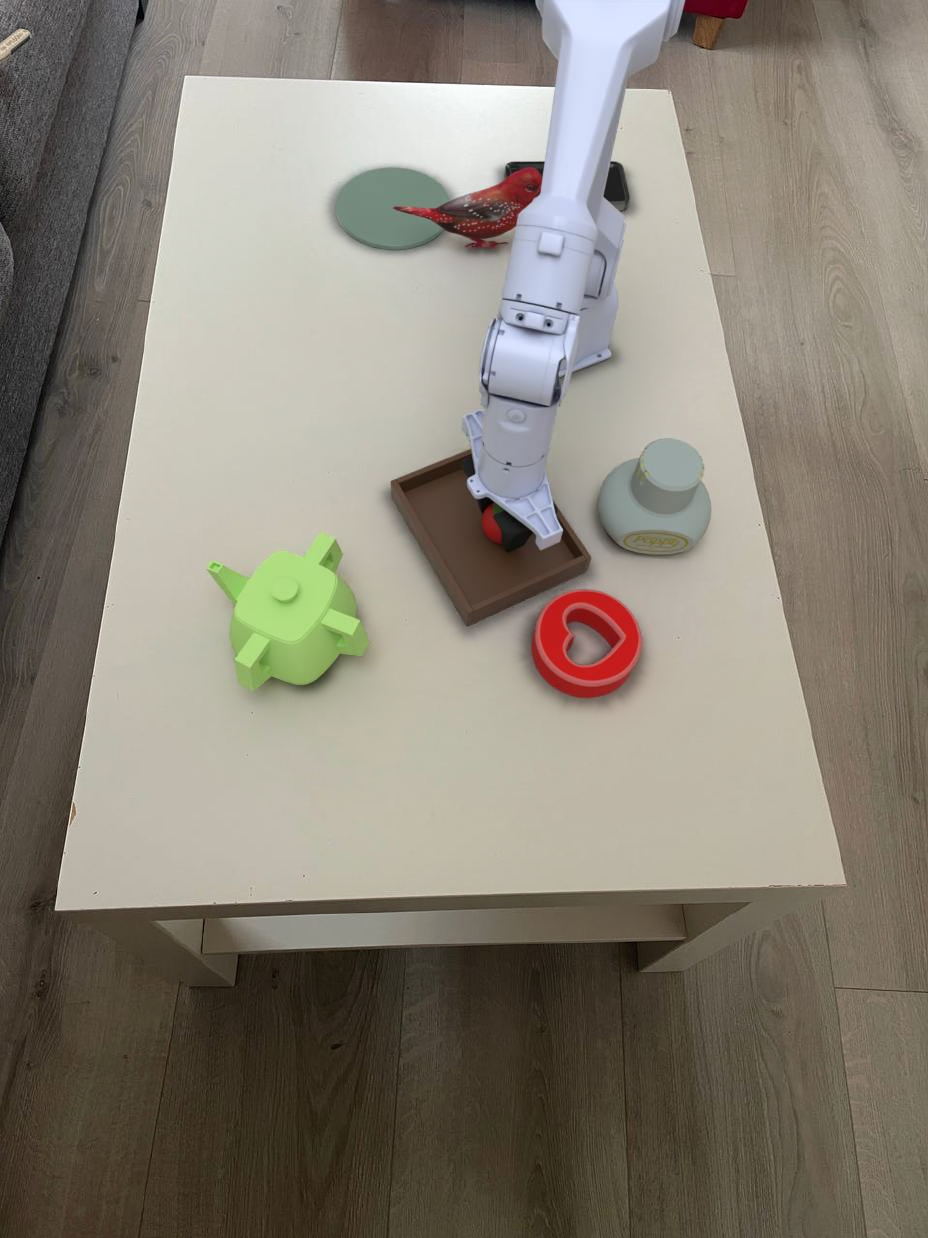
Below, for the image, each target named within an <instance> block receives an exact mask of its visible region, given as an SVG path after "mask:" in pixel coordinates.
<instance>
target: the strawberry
mask: <svg viewBox="0 0 928 1238" xmlns="http://www.w3.org/2000/svg"><path fill="white" fill-rule="evenodd" d="M501 511H504V509H503V508H502V507H501V506H499V505H498V504H497V503H495V502H493V503H492V504H490V505H489V506H488V507H487V508H486V509H485V511H484V513H483V516H482V528H483V531H484V533H485V534H486V536H487V537H488V538H489V539H490V540H492V541H493V542H496V543H499V544H502V534H501V529H500V528H499V526H498V525H497V523H496V521H495V520H494V518H493V515H494V514H497V513H499V512H501Z"/></svg>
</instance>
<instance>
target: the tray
mask: <svg viewBox="0 0 928 1238" xmlns="http://www.w3.org/2000/svg"><path fill="white" fill-rule="evenodd" d="M471 455H472V451H471V448H469V449H467V450H464V451H462V452H459V453H457V454H454V455H451V456H449V457H446V458H444V459H442V460H439V461H437V462H434V463H431V464H428V465H427V466H424V467H422V468H419V469H417V470H414V471H412V472H409V473H407V474H404V475H402V476H399V477H397V478H395V479H391V480H390V496H391V499H392V501H393V503H394V505H395V506H396V507H397V509H398V512H399V514H401V516H402V518H403V520H404V521H405V523H406V525H407V526H408V529H409V530H410V532H411V533H412V535H413V537H414V539H415V540H416V542H417V544H418V546H419V547H420V549H421V550H422V552H423V554H424V556H425V558H426V559H427V562H428V563H429V564H430V566H431V568H432V569H433V571H434V573H435V575H436V577H437V578H438V580H439V582H440V583H441V585H442V587H443V588H444V590H445V592H446V595H448V597H449V599H450V601H451V602H452V604H453V605H454V607H455V609H456V611H457V612H458V614H459V616H460V618H461V619H462V621H463V623H464V624H465V626H466V627H470V626H471V625H474V624H476V623H478V622H480V621H482V620H485V619H487V618H489V617H491V616H493V615H496V614H498V613H499V612H502V611H504V610H507V609H509V608H511V607H513V606H515V605H518V604H519V603H522V602H524V601H526V600H528V599H530V598H533V597H534V596H535V597H536V596H537V595H540V594H541V593H543V592H545V591H547V590H551V589H552V588H554V587H556V586H557V587H558V585H561V584H563V583H565V582H567V581H569V580H572V579H574V578H576V577H578V576H581V575H582V574H585V573H587V571H588V568H589V566H590V563H591V560H592V556H591V554H590V553H589V552H588V550H587V549H586V547H585V545H584V544H583V542H582V540H581V539H580V538H579V536H578V535H577V533H576V532H575V531H574V529H573V528H572V526H571V524H570V523H569V522H568V520H567V519H566V517H565V515H564V514H563V513H562V511H561V510H560V507H558V506H557V504H556V502H555V500H553V502H554V503H555V505H556V506H557V509H558V512H557V516H556V517H557V520H558V522H559V524H560V525H561V527H562V529H563V532H562V536H561V540H560V542H559V543H556V544H554V545H552V546H550V547H548V548H545V549H543V550H540V549H539V547H538V546H537V544H536V542H535V541H536V535H535V533H533V534H532V535H531V536H530V538H529V539H528V540H527V542H526V543H525V545H524V546H522V547H519V548H517V549H515V550H513V551H510V552H506V551H505V549H504V548H503V546H502V544H499V543H496V542H493V541H492V540H490V539H489V538H488V537H487V536H486V534H485V533H484V531H483V528H482V516H483V514H482V513H481V511H480V508H479V505H478V501H477V499H476V498H475V497H473V495H472V493H471V492H470V490H469V489H468V487H467V480H468V477H467V476H466V474H465V473H464V471H463V469H462V467H461V464H462V461H463V460H464V459H465V458H466V457H468V456H471Z"/></svg>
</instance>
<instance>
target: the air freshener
mask: <svg viewBox="0 0 928 1238" xmlns="http://www.w3.org/2000/svg"><path fill="white" fill-rule="evenodd" d="M704 471H705V464H704V462H703V457H702V456H701V455H700V454H699V452H698V450H697V449H696V448H694V446H692V445H691V444H689V443H687V442H686V441H683V440H680V439H676V438H668V437H665V438H659V439H655V440H653V441H651V442H650V443H648V444H647V445H646V446H645V447H644V449H643V450H642V451H641V453H640V456H639V457H638V458H632V459H629V460H625V461H623V462H621V463H620V464H618V465H616V466H615V467H614V468H613V469H612V470H611V471H610V472H609V473H608V474H607V475H606V477H605V479H604V480H603V481H602V484H601V485H600V488H599V491H598V492H599V493H598V495H597V512H598V516H599V519H600V522H601V524H602V526H603V528H604V530H605V531H606V533H607V535H608V536H609V537H610V538H611V539H612V540H613V541H614V542H615V543H617V544H618V545H619V546H620V547H622V548H624V549H625V550H628V551H631V552H635V553H639V554H643V555H644V554H645V555H674V554H679V553H682V552H685V551H688V550H690V549H691V548H693V547H694V546H695V545H697V544H698V542H700V540H701V539H702V538H703V537H704V535H705V534H706V532H707V530H708V528H709V525H710V522H711V517H712V502H711V497H710V494H709V491H708V489H707V487H706V485H705V483H704V482H703V481H702V479H703V477H704V475H705V472H704Z"/></svg>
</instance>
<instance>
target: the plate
mask: <svg viewBox="0 0 928 1238" xmlns="http://www.w3.org/2000/svg"><path fill="white" fill-rule="evenodd" d="M449 201H451V199H450V196H449V194H448V192H447V191H446V189H445V188H444V187H443V186H442V184H441V183H439V182H438V181H437V180H436V179H434V178H433V177H431V176H429V175H428V174H426V173H423V172H421V171H418V170H415V169H411V168H406V167H396V166H395V167H393V166H392V167H391V166H390V167H379V168H374V169H370V170H367V171H365V172H362V173H359V174H358V175H356V176H354V177H353V178H351V179H350V180H348V181H347V182H346V183H345V184H344V185H343V186H342V187H341V188H340V190H339V192H338V194H337V196H336V201H335V211H336V212H335V213H336V218H337V221H338V223H339V224H340V226H341V228H342V229H343V230H344V231H345V232H346V233H347V235H349V236H350V237H352V238H353V239H354V240H356V241H357V242H360V243H361V244H364V245H365V246H369V247H373V248H377V249H381V250H392V251H393V250H394V251H395V250H397V251H398V250H408V249H413V248H417V247H420V246H422V245H425V244H427V243H429V242H431V241H433V240H434V239H436V238H437V237H439V235H441V234H442V233H443V232H444V231H445V230H444V229H443V228H442V227H440V226H439V225H438V224H436V223H435V222H433V221H431V220H429V219H427V218H423V217H419V216H415V215H412V214H408V213H404V212H401V211H397V210H395V209H393V207H396V206H397V207H401V206H404V207H418V208H437V207H439V206H441V205H443V204H445V203H447V202H449Z"/></svg>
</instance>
